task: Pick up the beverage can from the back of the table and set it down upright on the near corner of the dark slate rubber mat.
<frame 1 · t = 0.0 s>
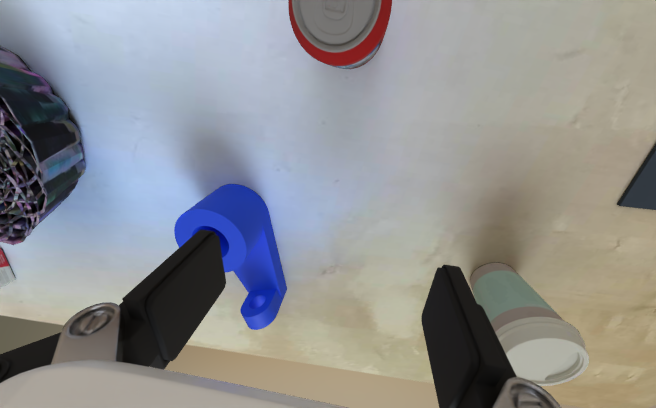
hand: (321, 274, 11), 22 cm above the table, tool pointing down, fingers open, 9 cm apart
coffee cup: (492, 277, 36), on the table
decorative bowl: (22, 130, 37), on the table
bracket: (254, 243, 40), on the table
beverage can: (350, 31, 26), on the table
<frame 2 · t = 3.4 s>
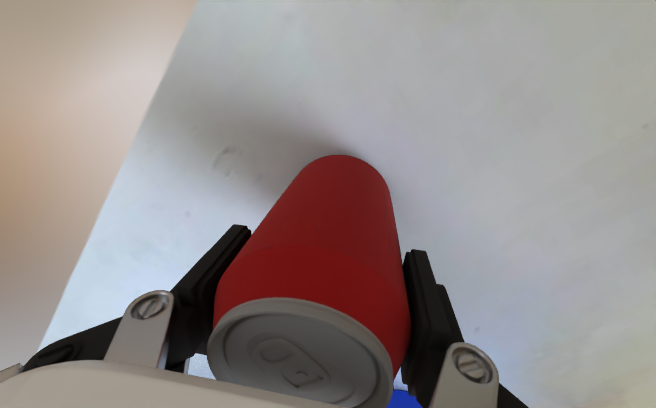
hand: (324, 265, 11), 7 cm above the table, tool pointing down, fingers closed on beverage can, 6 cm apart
beverage can: (341, 197, 18), on the table, touching gripper
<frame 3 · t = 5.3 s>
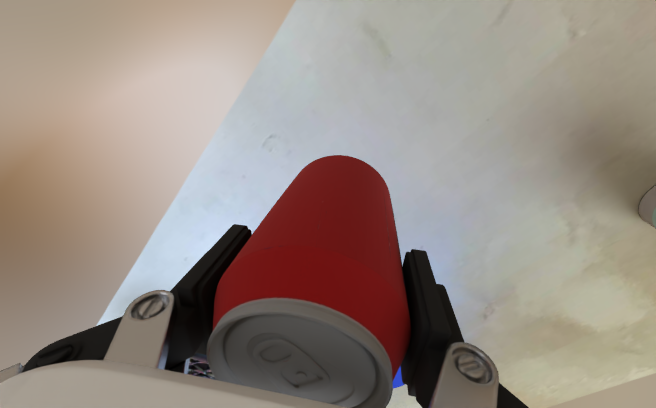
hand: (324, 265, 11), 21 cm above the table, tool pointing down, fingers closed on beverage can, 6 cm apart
decorative bowl: (230, 362, 53), on the table
beverage can: (340, 197, 18), point 14 cm above the table, touching gripper
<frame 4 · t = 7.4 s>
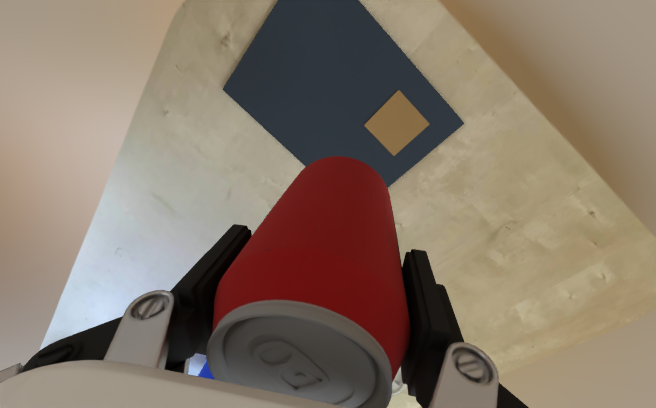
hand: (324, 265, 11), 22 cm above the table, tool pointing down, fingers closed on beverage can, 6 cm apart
mat: (338, 105, 29), on the table
beverage can: (340, 198, 18), point 14 cm above the table, touching gripper
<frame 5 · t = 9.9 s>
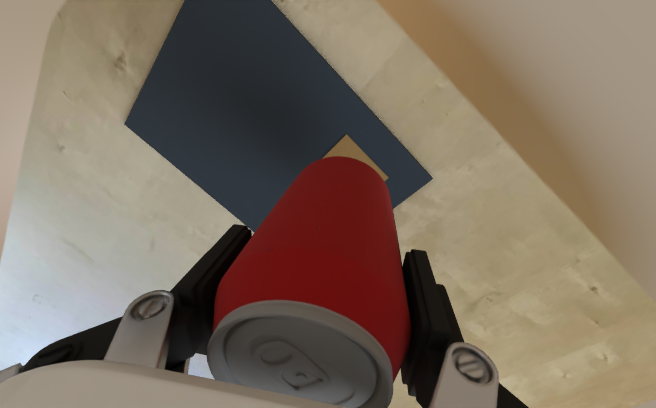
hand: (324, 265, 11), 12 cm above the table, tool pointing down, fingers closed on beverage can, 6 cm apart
mat: (273, 149, 22), on the table
beverage can: (340, 198, 18), point 5 cm above the table, touching gripper
when the fingers open (8 cm above the table, at t = 11.6 s): beverage can stays where it is, resting on mat.
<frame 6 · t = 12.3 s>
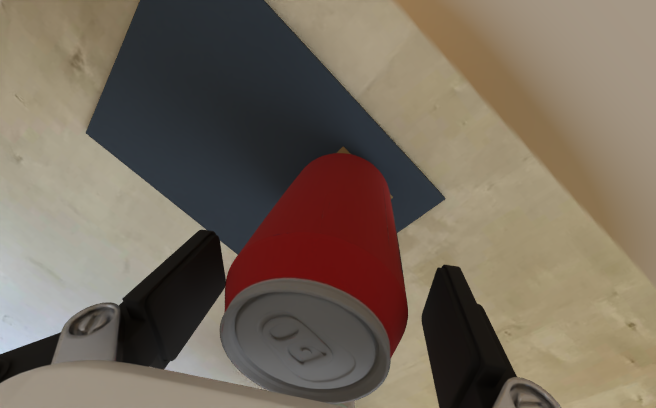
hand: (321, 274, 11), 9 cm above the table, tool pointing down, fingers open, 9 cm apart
mat: (257, 162, 19), on the table
beverage can: (342, 194, 19), resting on mat
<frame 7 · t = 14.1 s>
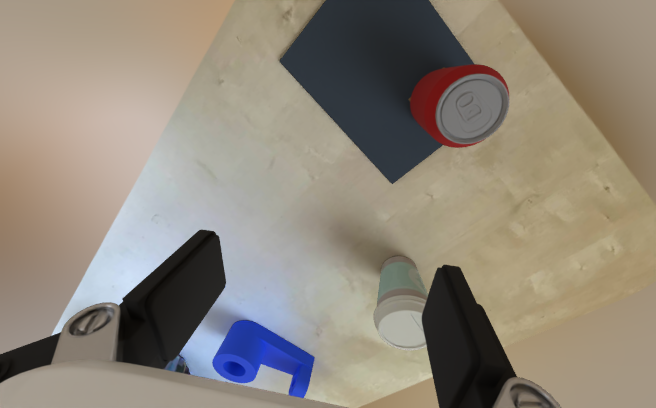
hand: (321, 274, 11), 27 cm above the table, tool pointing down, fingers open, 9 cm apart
coffee cup: (398, 268, 44), on the table
mat: (386, 80, 32), on the table
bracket: (272, 343, 58), on the table
beverage can: (437, 99, 31), resting on mat
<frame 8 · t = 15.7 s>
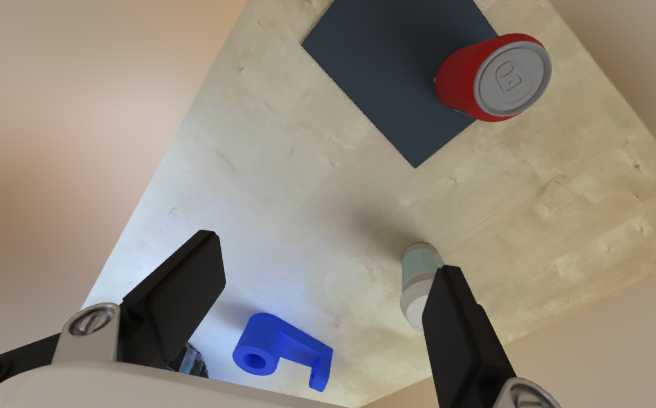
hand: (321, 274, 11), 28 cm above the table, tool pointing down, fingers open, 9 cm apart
coffee cup: (420, 256, 43), on the table
decorative bowl: (173, 356, 69), on the table
mat: (410, 61, 31), on the table
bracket: (290, 336, 58), on the table
beverage can: (462, 79, 31), resting on mat
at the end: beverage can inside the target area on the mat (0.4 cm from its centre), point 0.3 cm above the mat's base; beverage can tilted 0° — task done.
